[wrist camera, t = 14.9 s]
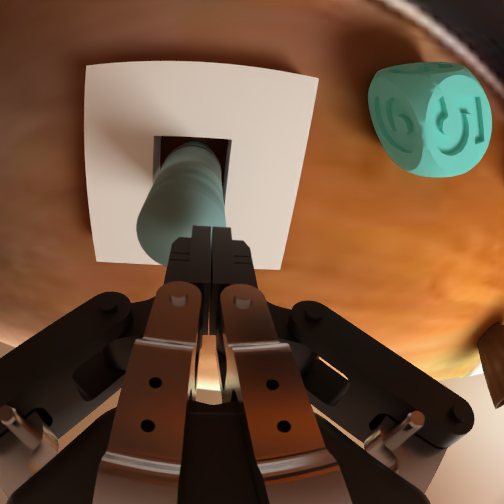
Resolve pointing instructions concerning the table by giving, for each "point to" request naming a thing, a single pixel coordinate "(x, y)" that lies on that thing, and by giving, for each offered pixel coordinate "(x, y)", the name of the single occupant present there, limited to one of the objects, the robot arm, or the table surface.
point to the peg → (181, 199)
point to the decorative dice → (430, 117)
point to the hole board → (195, 125)
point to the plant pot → (493, 362)
